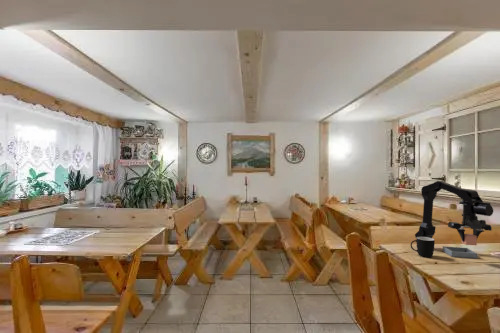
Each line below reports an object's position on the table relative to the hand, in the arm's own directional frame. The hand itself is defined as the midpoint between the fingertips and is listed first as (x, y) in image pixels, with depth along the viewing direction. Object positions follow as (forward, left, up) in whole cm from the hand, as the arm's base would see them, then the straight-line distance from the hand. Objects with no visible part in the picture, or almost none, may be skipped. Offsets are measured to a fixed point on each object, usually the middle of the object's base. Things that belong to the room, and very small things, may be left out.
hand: (468, 241), depth 162 cm
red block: (0, 0, -1) cm, 1 cm away
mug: (-21, +6, -11) cm, 25 cm away
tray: (+1, +14, -11) cm, 18 cm away
